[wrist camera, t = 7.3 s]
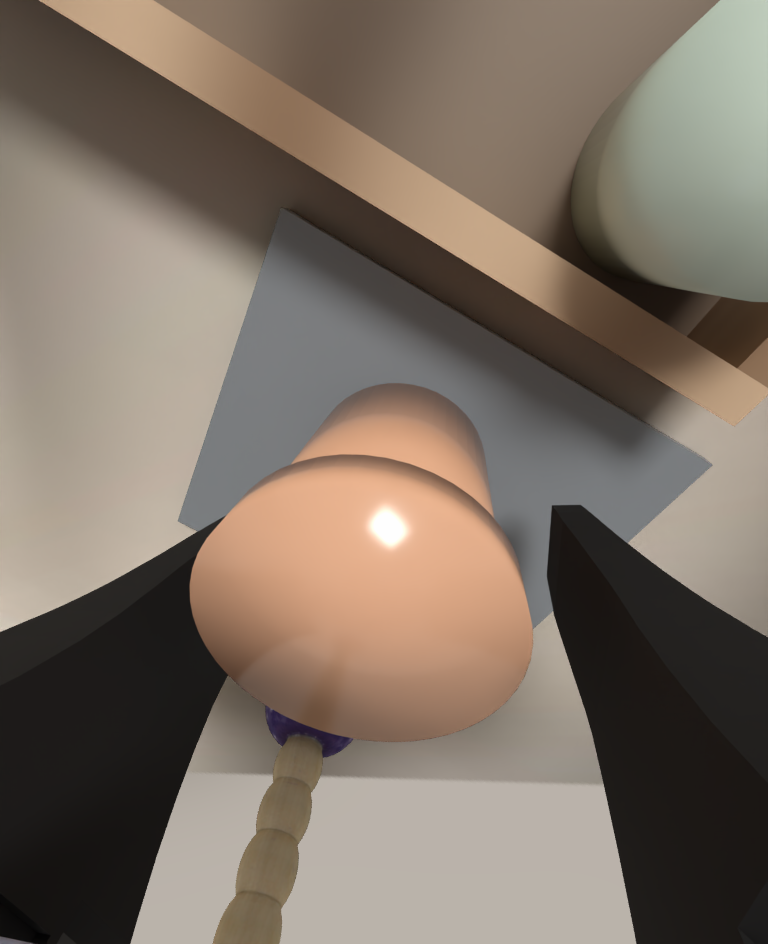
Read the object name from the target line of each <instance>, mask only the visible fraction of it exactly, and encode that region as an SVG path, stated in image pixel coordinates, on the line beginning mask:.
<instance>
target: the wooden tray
mask: <svg viewBox="0 0 768 944" xmlns="http://www.w3.org/2000/svg"><path fill="white" fill-rule="evenodd" d="M39 1H41V2H43V3H44V4H46V5H47V6H49V7H51V8H52V9H54V10H56V11H57V12H59V13H60V14H62V15H64V16H65V17H67V18H69V19H70V20H72V21H74V22H75V23H77V24H78V25H80V26H82V27H83V28H85V29H87V30H88V31H90V32H91V33H93V34H95V35H96V36H98V37H100V38H101V39H103V40H105V41H106V42H108V43H109V44H111V45H113V46H114V47H116V48H118V49H119V50H121V51H122V52H124V53H126V54H127V55H129V56H131V57H132V58H134V59H136V60H137V61H139V62H140V63H142V64H144V65H145V66H147V67H149V68H150V69H152V70H153V71H155V72H157V73H158V74H160V75H162V76H163V77H165V78H167V79H168V80H170V81H171V82H173V83H175V84H176V85H178V86H180V87H181V88H183V89H184V90H186V91H188V92H189V93H191V94H193V95H194V96H196V97H198V98H199V99H201V100H202V101H204V102H206V103H207V104H209V105H211V106H212V107H214V108H215V109H217V110H219V111H220V112H222V113H224V114H225V115H227V116H229V117H230V118H232V119H233V120H235V121H237V122H238V123H240V124H242V125H243V126H245V127H246V128H248V129H250V130H251V131H253V132H255V133H256V134H258V135H260V136H261V137H263V138H264V139H266V140H268V141H269V142H271V143H273V144H274V145H276V146H277V147H279V148H281V149H282V150H284V151H286V152H287V153H289V154H291V155H292V156H294V157H295V158H297V159H299V160H300V161H302V162H304V163H305V164H307V165H308V166H310V167H312V168H313V169H315V170H317V171H318V172H320V173H322V174H323V175H325V176H326V177H328V178H330V179H331V180H333V181H335V182H336V183H338V184H339V185H341V186H343V187H344V188H346V189H348V190H349V191H351V192H353V193H354V194H356V195H357V196H359V197H361V198H362V199H364V200H366V201H367V202H369V203H370V204H372V205H374V206H375V207H377V208H379V209H380V210H382V211H384V212H385V213H387V214H388V215H390V216H392V217H393V218H395V219H397V220H398V221H400V222H401V223H403V224H405V225H406V226H408V227H410V228H411V229H413V230H415V231H416V232H418V233H419V234H421V235H423V236H424V237H426V238H428V239H429V240H431V241H432V242H434V243H436V244H437V245H439V246H441V247H442V248H444V249H446V250H447V251H449V252H450V253H452V254H454V255H455V256H457V257H459V258H460V259H462V260H463V261H465V262H467V263H468V264H470V265H472V266H473V267H475V268H477V269H478V270H480V271H481V272H483V273H485V274H486V275H488V276H490V277H491V278H493V279H494V280H496V281H498V282H499V283H501V284H503V285H504V286H506V287H508V288H509V289H511V290H512V291H514V292H516V293H517V294H519V295H521V296H522V297H524V298H525V299H527V300H529V301H530V302H532V303H534V304H535V305H537V306H539V307H540V308H542V309H543V310H545V311H547V312H548V313H550V314H552V315H553V316H555V317H556V318H558V319H560V320H561V321H563V322H565V323H566V324H568V325H570V326H571V327H573V328H574V329H576V330H578V331H579V332H581V333H583V334H584V335H586V336H587V337H589V338H591V339H592V340H594V341H596V342H597V343H599V344H601V345H602V346H604V347H605V348H607V349H609V350H610V351H612V352H614V353H615V354H617V355H618V356H620V357H622V358H623V359H625V360H627V361H628V362H630V363H632V364H633V365H635V366H636V367H638V368H640V369H641V370H643V371H645V372H646V373H648V374H649V375H651V376H653V377H654V378H656V379H658V380H659V381H661V382H663V383H664V384H666V385H667V386H669V387H671V388H672V389H674V390H676V391H677V392H679V393H680V394H682V395H684V396H685V397H687V398H689V399H690V400H692V401H694V402H695V403H697V404H698V405H700V406H702V407H703V408H705V409H707V410H708V411H710V412H711V413H713V414H715V415H716V416H718V417H720V418H721V419H723V420H725V421H726V422H728V423H729V424H731V425H733V426H735V425H736V424H737V423H738V422H740V421H741V420H742V419H743V418H744V417H745V416H746V415H747V414H748V413H749V412H750V411H751V410H752V409H753V408H754V407H755V406H757V405H758V404H759V403H760V402H761V401H762V400H763V399H764V398H765V397H766V396H767V395H768V302H750V301H744V300H738V299H732V298H727V297H721V296H716V295H710V294H704V293H699V292H693V291H687V290H682V289H676V288H670V287H665V286H659V285H653V284H648V283H642V282H636V281H631V280H625V279H622V278H619V277H616V276H613V275H611V274H609V273H607V272H606V271H604V270H603V269H601V268H600V267H599V266H597V265H596V264H595V263H594V262H593V261H592V260H591V259H590V258H589V257H588V255H587V254H586V253H585V251H584V250H583V248H582V247H581V245H580V243H579V240H578V238H577V236H576V233H575V230H574V227H573V221H572V215H571V188H572V182H573V177H574V172H575V168H576V165H577V162H578V158H579V156H580V153H581V151H582V149H583V146H584V144H585V142H586V140H587V138H588V136H589V134H590V133H591V131H592V129H593V127H594V126H595V124H596V123H597V121H598V120H599V118H600V117H601V115H602V114H603V113H604V112H605V110H606V109H607V108H608V107H609V106H610V104H611V103H612V102H613V101H614V100H615V99H616V98H617V97H618V96H619V95H620V94H621V93H622V92H623V91H624V90H625V89H626V88H627V87H628V86H629V85H630V84H631V83H632V82H633V81H635V80H636V79H637V78H638V77H639V76H640V75H641V74H642V73H643V72H644V71H645V70H646V69H647V68H648V67H649V66H651V65H652V64H653V63H654V62H655V61H656V60H657V59H658V58H659V57H660V56H661V55H662V54H663V53H664V52H666V51H667V50H668V49H669V48H670V47H671V46H672V45H673V44H674V43H675V42H676V41H677V40H678V39H679V38H680V37H682V36H683V35H684V34H685V33H686V32H687V31H688V30H689V29H690V28H691V27H692V26H693V25H694V24H695V23H696V22H698V21H699V20H700V19H701V18H702V17H703V16H704V15H705V14H706V13H707V12H708V11H709V10H710V9H711V8H712V7H714V6H715V5H716V4H717V3H718V2H719V1H720V0H39Z"/></svg>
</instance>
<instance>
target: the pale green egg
mask: <svg viewBox="0 0 768 944" xmlns="http://www.w3.org/2000/svg"><path fill="white" fill-rule="evenodd" d="M571 215H572V221H573V227H574V230H575V233H576V236H577V238H578V240H579V243H580V245H581V247H582V248H583V250H584V251H585V253H586V254H587V255H588V257H589V258H590V259H591V260H592V261H593V262H594V263H595V264H596V265H597V266H599V267H600V268H601V269H603V270H604V271H606V272H607V273H609V274H611V275H613V276H616V277H619V278H622V279H625V280H631V281H636V282H642V283H648V284H653V285H659V286H665V287H670V288H676V289H682V290H687V291H693V292H699V293H704V294H710V295H716V296H721V297H727V298H732V299H738V300H744V301H750V302H768V0H720V1H719V2H718V3H717V4H716V5H715V6H714V7H712V8H711V9H710V10H709V11H708V12H707V13H706V14H705V15H704V16H703V17H702V18H701V19H700V20H699V21H698V22H696V23H695V24H694V25H693V26H692V27H691V28H690V29H689V30H688V31H687V32H686V33H685V34H684V35H683V36H682V37H680V38H679V39H678V40H677V41H676V42H675V43H674V44H673V45H672V46H671V47H670V48H669V49H668V50H667V51H666V52H664V53H663V54H662V55H661V56H660V57H659V58H658V59H657V60H656V61H655V62H654V63H653V64H652V65H651V66H649V67H648V68H647V69H646V70H645V71H644V72H643V73H642V74H641V75H640V76H639V77H638V78H637V79H636V80H635V81H633V82H632V83H631V84H630V85H629V86H628V87H627V88H626V89H625V90H624V91H623V92H622V93H621V94H620V95H619V96H618V97H617V98H616V99H615V100H614V101H613V102H612V103H611V104H610V106H609V107H608V108H607V109H606V110H605V112H604V113H603V114H602V115H601V117H600V118H599V120H598V121H597V123H596V124H595V126H594V127H593V129H592V131H591V133H590V134H589V136H588V138H587V140H586V142H585V144H584V146H583V149H582V151H581V153H580V156H579V158H578V162H577V165H576V168H575V172H574V177H573V182H572V188H571Z"/></svg>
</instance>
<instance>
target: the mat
mask: <svg viewBox="0 0 768 944" xmlns="http://www.w3.org/2000/svg"><path fill="white" fill-rule="evenodd" d="M387 383H404V384H412V385H416V386H420V387H424V388H427V389H430V390H432V391H435V392H437V393H439V394H441V395H442V396H444V397H446V398H448V399H449V400H450V401H452V402H453V403H454V404H456V405H457V406H458V407H459V408H460V409H461V410H462V411H463V412H464V413H465V414H466V415H467V416H468V418H469V419H470V420H471V422H472V423H473V425H474V426H475V428H476V430H477V432H478V434H479V436H480V439H481V441H482V445H483V449H484V453H485V460H486V466H487V473H488V480H489V486H490V493H491V500H492V506H493V513H494V519H495V520H496V521H497V523H498V524H499V525H500V526H501V528H502V529H503V531H504V532H505V534H506V536H507V537H508V539H509V541H510V542H511V544H512V546H513V549H514V551H515V554H516V556H517V558H518V561H519V565H520V570H521V574H522V578H523V583H524V588H525V593H526V597H527V602H528V607H529V612H530V617H531V621H532V628H533V629H534V628H535V627H536V626H537V625H538V624H539V623H540V622H541V621H542V620H544V619H545V618H546V617H547V616H548V615H549V614H550V613H551V612H552V611H553V607H552V602H551V597H550V591H549V586H548V580H547V565H548V551H549V537H550V523H551V510H552V505H582V506H583V507H584V508H586V509H587V510H588V511H589V512H590V513H592V514H593V515H594V516H595V517H596V518H598V519H599V520H600V521H601V522H602V523H603V524H605V525H606V526H607V527H608V528H609V529H611V530H612V531H613V532H614V533H615V534H617V535H618V536H619V537H620V538H621V539H623V540H624V541H625V542H626V543H628V542H629V541H630V540H631V539H632V538H633V537H634V536H635V535H637V534H638V533H639V532H640V531H641V530H642V529H643V528H644V527H645V526H646V525H647V524H649V523H650V522H651V521H652V520H653V519H654V518H655V517H656V516H657V515H658V514H660V513H661V512H662V511H663V510H664V509H665V508H666V507H667V506H668V505H669V504H670V503H672V502H673V501H674V500H675V499H676V498H677V497H678V496H679V495H680V494H681V493H683V492H684V491H685V490H686V489H687V488H688V487H689V486H690V485H691V484H692V483H693V482H695V481H696V480H697V479H698V478H699V477H700V476H701V475H702V474H703V473H704V472H705V471H707V470H708V469H709V468H710V467H711V466H712V464H711V463H710V462H709V461H707V460H706V459H705V458H703V457H702V456H700V455H698V454H697V453H695V452H693V451H692V450H690V449H688V448H687V447H685V446H683V445H682V444H680V443H678V442H677V441H675V440H673V439H672V438H670V437H668V436H667V435H665V434H663V433H662V432H660V431H658V430H657V429H655V428H653V427H652V426H650V425H648V424H647V423H645V422H643V421H642V420H640V419H638V418H637V417H635V416H633V415H632V414H630V413H628V412H627V411H625V410H623V409H622V408H620V407H618V406H617V405H615V404H613V403H612V402H610V401H608V400H606V399H605V398H603V397H601V396H600V395H598V394H596V393H595V392H593V391H591V390H590V389H588V388H586V387H585V386H583V385H581V384H580V383H578V382H576V381H575V380H573V379H571V378H570V377H568V376H566V375H565V374H563V373H561V372H560V371H558V370H556V369H555V368H553V367H551V366H550V365H548V364H546V363H545V362H543V361H541V360H540V359H538V358H536V357H535V356H533V355H531V354H530V353H528V352H526V351H525V350H523V349H521V348H520V347H518V346H516V345H515V344H513V343H511V342H509V341H508V340H506V339H504V338H503V337H501V336H499V335H498V334H496V333H494V332H493V331H491V330H489V329H488V328H486V327H484V326H483V325H481V324H479V323H478V322H476V321H474V320H473V319H471V318H469V317H468V316H466V315H464V314H463V313H461V312H459V311H458V310H456V309H454V308H453V307H451V306H449V305H448V304H446V303H444V302H443V301H441V300H439V299H438V298H436V297H434V296H433V295H431V294H429V293H428V292H426V291H424V290H423V289H421V288H419V287H418V286H416V285H414V284H412V283H411V282H409V281H407V280H406V279H404V278H402V277H401V276H399V275H397V274H396V273H394V272H392V271H391V270H389V269H387V268H386V267H384V266H382V265H381V264H379V263H377V262H376V261H374V260H372V259H371V258H369V257H367V256H366V255H364V254H362V253H361V252H359V251H357V250H356V249H354V248H352V247H351V246H349V245H347V244H346V243H344V242H342V241H341V240H339V239H337V238H336V237H334V236H332V235H331V234H329V233H327V232H326V231H324V230H322V229H321V228H319V227H317V226H315V225H314V224H312V223H310V222H309V221H307V220H305V219H304V218H302V217H300V216H299V215H297V214H295V213H294V212H292V211H290V210H289V209H286V208H282V207H281V210H280V213H279V216H278V219H277V222H276V225H275V228H274V231H273V234H272V237H271V240H270V243H269V246H268V249H267V252H266V255H265V258H264V261H263V264H262V268H261V271H260V274H259V277H258V280H257V283H256V286H255V289H254V292H253V295H252V298H251V301H250V304H249V307H248V310H247V313H246V316H245V319H244V322H243V325H242V328H241V331H240V334H239V337H238V340H237V343H236V346H235V349H234V352H233V355H232V358H231V361H230V364H229V367H228V370H227V373H226V376H225V379H224V382H223V385H222V389H221V392H220V395H219V398H218V401H217V404H216V407H215V410H214V413H213V416H212V419H211V422H210V425H209V428H208V431H207V434H206V437H205V440H204V443H203V446H202V449H201V452H200V455H199V458H198V461H197V464H196V467H195V470H194V473H193V476H192V479H191V482H190V485H189V488H188V491H187V494H186V497H185V500H184V503H183V506H182V510H181V513H180V516H179V519H178V522H180V523H182V524H184V525H186V526H188V527H190V528H192V529H194V530H196V531H200V530H201V529H203V528H205V527H206V526H208V525H210V524H212V523H213V522H215V521H217V520H219V519H220V518H222V517H224V516H226V515H227V514H228V513H229V512H230V511H231V510H232V509H233V507H234V506H235V505H236V504H237V503H238V502H239V500H240V499H241V498H242V497H243V496H244V495H245V494H246V493H247V491H248V490H249V489H251V488H252V487H253V486H254V485H255V484H257V483H258V482H259V481H260V480H262V479H263V478H265V477H266V476H268V475H270V474H272V473H273V472H275V471H277V470H279V469H281V468H283V467H286V466H288V465H290V464H291V463H292V462H293V460H294V459H295V458H296V456H297V455H298V454H299V453H300V451H301V450H302V449H303V447H304V446H305V445H306V444H307V442H308V441H309V440H310V438H311V437H312V436H313V435H314V433H315V432H316V431H317V429H318V428H319V427H320V425H321V424H322V423H323V422H324V420H325V419H326V418H327V416H328V415H329V414H330V413H331V412H332V410H333V409H334V408H335V407H336V406H337V405H338V404H339V403H341V402H342V401H343V400H344V399H345V398H347V397H349V396H350V395H352V394H354V393H355V392H358V391H360V390H362V389H365V388H368V387H371V386H375V385H380V384H387Z"/></svg>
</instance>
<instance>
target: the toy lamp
mask: <svg viewBox="0 0 768 944" xmlns="http://www.w3.org/2000/svg"><path fill="white" fill-rule="evenodd" d="M265 712H266V720H267V724H268V726H269V730H270V732H271V734H272V735H273V737H274V738H275V739H276V741H277V742H278V743H279V744H280V745H281V746H282V748H281V750H280V751H279V753H278V755H277V758H276V760H275V764H274V769H273V784H272V785H271V786H270V787H269V789H268V790H267V792H266V794H265V795H264V797H263V799H262V802H261V805H260V807H259V811H258V815H257V823H256V832H257V833H256V835H255V836H254V837H253V838H252V840H251V841H250V843H249V844H248V846H247V848H246V850H245V852H244V854H243V857H242V859H241V861H240V865H239V868H238V873H237V880H236V896H235V898H234V899H233V900H232V901H231V902H230V903H229V905H228V907H227V909H226V911H225V912H224V914H223V916H222V918H221V920H220V923H219V925H218V928H217V930H216V934H215V937H214V941H213V944H279V942H280V937H281V929H282V916H281V908H282V907H283V905H284V904H285V902H286V901H287V899H288V897H289V895H290V893H291V891H292V888H293V885H294V882H295V879H296V875H297V870H298V859H299V855H298V854H299V853H298V847H297V845H298V844H299V842H300V841H301V839H302V837H303V836H304V833H305V831H306V829H307V827H308V823H309V820H310V815H311V808H312V800H311V792H312V791H313V789H314V788H315V786H316V785H317V783H318V780H319V778H320V775H321V771H322V764H323V758H324V757H329V756H331V755H334V754H336V753H338V752H340V751H341V750H342V749H344V748H345V747H346V746H347V745H348V744H350V743H351V741H352V740H353V739H354V738H349V737H344V736H339V735H335V734H331V733H328V732H324V731H321V730H318V729H315V728H312V727H309V726H307V725H304V724H301V723H299V722H297V721H295V720H292V719H290V718H288V717H286V716H284V715H282V714H280V713H278V712H277V711H275V710H273V709H271V708H269V707H268V706H266V708H265Z"/></svg>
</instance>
